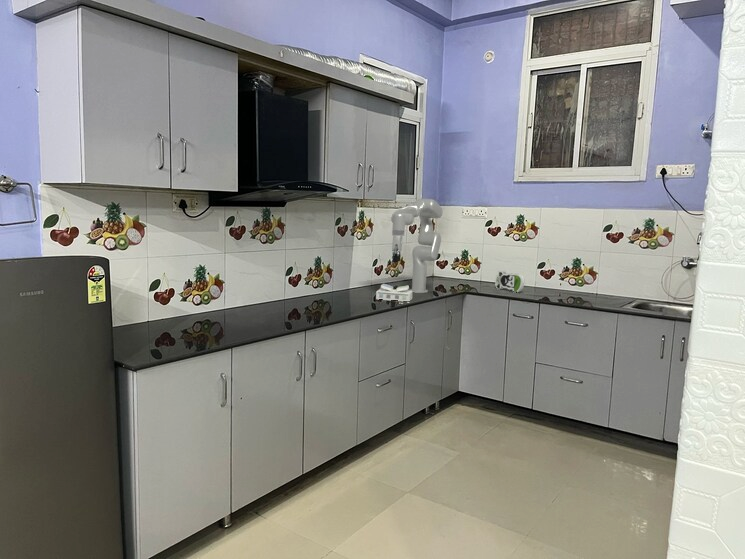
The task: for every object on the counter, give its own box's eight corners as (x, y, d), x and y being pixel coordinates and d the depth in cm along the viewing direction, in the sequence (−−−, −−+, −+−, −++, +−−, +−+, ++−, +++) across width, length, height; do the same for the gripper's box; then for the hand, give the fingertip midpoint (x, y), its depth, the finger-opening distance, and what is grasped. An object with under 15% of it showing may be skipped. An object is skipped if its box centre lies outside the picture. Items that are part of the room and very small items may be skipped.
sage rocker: (398, 290, 352) (397, 287, 352) (409, 288, 351) (408, 285, 351) (396, 291, 347) (396, 288, 346) (407, 289, 345) (407, 286, 345)
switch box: (379, 296, 359) (380, 287, 358) (412, 298, 355) (412, 289, 354) (375, 299, 346) (376, 290, 345) (409, 302, 342) (409, 292, 341)
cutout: (495, 270, 413) (522, 272, 393) (497, 270, 415) (524, 272, 394) (494, 290, 414) (521, 293, 394) (497, 290, 416) (524, 293, 396)
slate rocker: (382, 286, 354) (383, 283, 354) (392, 289, 353) (393, 286, 353) (380, 287, 348) (381, 284, 348) (391, 291, 347) (392, 288, 347)
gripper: (394, 232, 356) (393, 259, 358) (390, 233, 339) (388, 262, 342) (406, 232, 354) (404, 260, 357) (402, 234, 338) (400, 263, 340)
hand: (396, 261), depth 349 cm, fingers open, 6 cm apart
